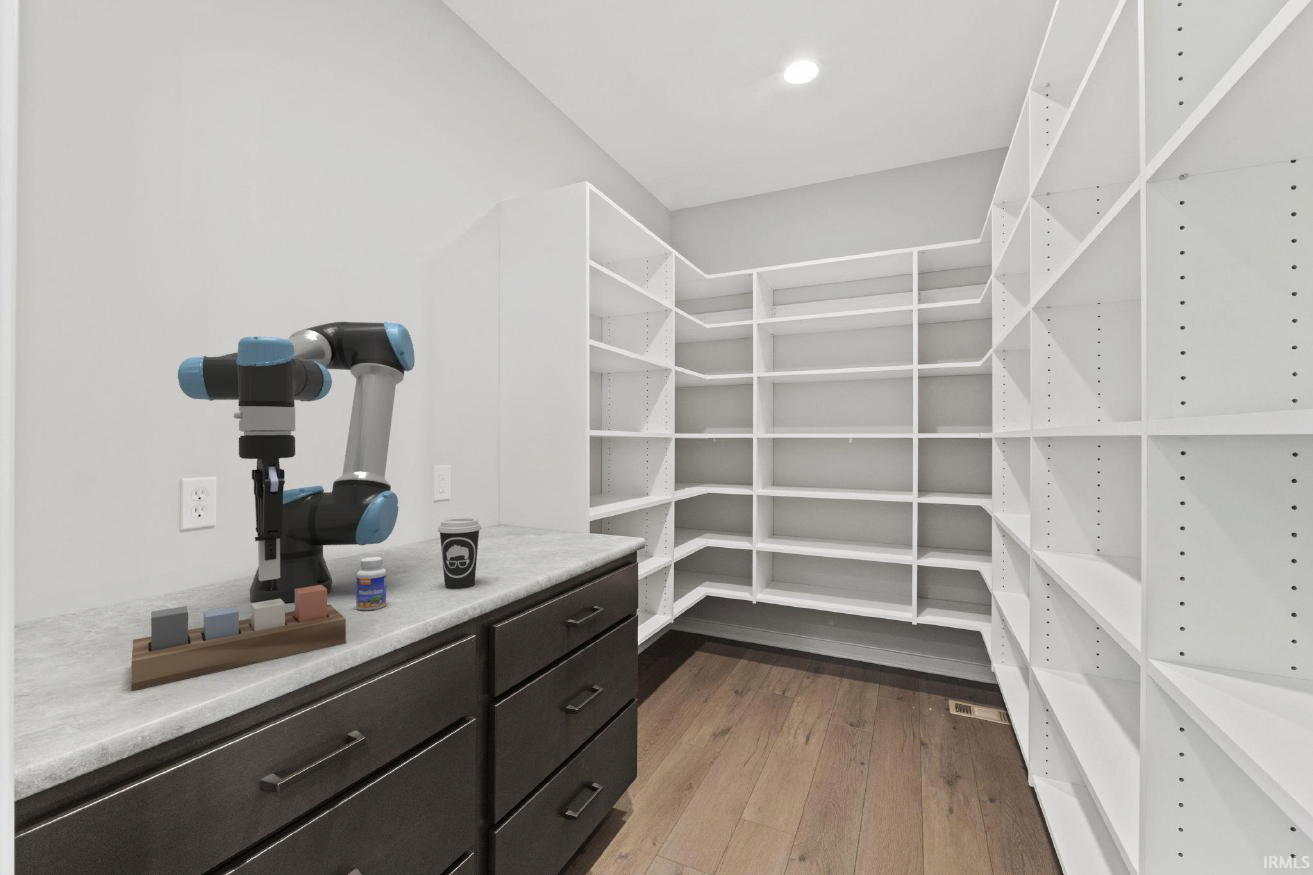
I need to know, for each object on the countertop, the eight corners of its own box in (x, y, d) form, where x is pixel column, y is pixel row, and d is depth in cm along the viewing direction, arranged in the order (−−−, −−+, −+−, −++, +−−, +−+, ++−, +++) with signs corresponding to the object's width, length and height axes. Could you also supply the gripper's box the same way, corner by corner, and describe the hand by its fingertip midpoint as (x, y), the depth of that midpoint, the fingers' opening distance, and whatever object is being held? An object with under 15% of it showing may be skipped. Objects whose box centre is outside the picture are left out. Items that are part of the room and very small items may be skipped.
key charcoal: (151, 645, 82) (151, 611, 82) (186, 638, 85) (186, 605, 85) (151, 652, 79) (151, 617, 79) (188, 645, 82) (188, 611, 82)
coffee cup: (490, 583, 130) (490, 519, 130) (455, 593, 122) (455, 524, 122) (463, 578, 136) (463, 516, 136) (428, 587, 128) (428, 521, 128)
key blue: (203, 643, 86) (203, 611, 86) (235, 637, 89) (235, 605, 89) (205, 650, 83) (205, 617, 83) (238, 643, 86) (238, 611, 86)
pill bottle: (355, 612, 109) (355, 563, 109) (356, 605, 114) (356, 557, 114) (386, 608, 111) (386, 560, 111) (386, 601, 116) (385, 555, 116)
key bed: (133, 666, 83) (133, 639, 83) (329, 626, 101) (329, 604, 101) (131, 690, 75) (131, 661, 75) (345, 642, 93) (345, 618, 93)
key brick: (294, 618, 94) (294, 588, 94) (321, 613, 97) (321, 584, 97) (299, 624, 91) (299, 593, 91) (327, 618, 94) (327, 589, 94)
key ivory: (251, 634, 90) (251, 603, 90) (280, 628, 93) (280, 598, 93) (254, 640, 87) (254, 608, 87) (284, 634, 90) (284, 603, 90)
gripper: (234, 433, 92) (236, 574, 93) (243, 434, 83) (246, 591, 83) (287, 433, 98) (289, 567, 98) (302, 433, 88) (304, 582, 88)
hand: (269, 578), depth 91 cm, fingers closed
